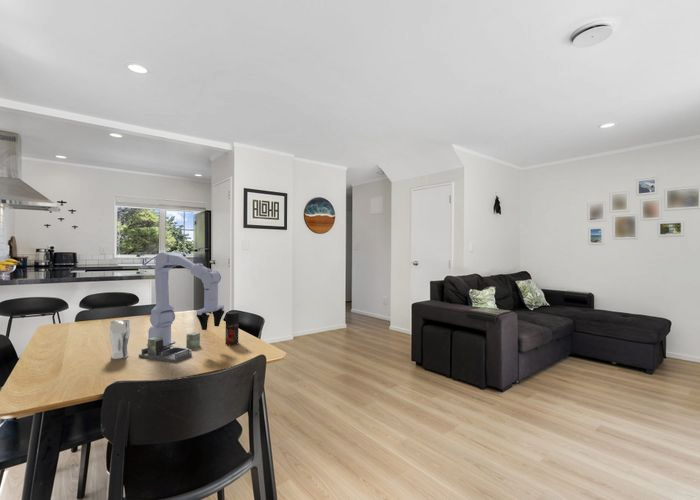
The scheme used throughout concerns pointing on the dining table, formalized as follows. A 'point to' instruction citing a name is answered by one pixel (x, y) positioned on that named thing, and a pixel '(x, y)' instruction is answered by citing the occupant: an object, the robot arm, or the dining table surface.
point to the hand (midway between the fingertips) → (210, 328)
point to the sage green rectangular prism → (193, 340)
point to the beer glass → (119, 338)
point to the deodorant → (232, 328)
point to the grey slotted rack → (164, 351)
